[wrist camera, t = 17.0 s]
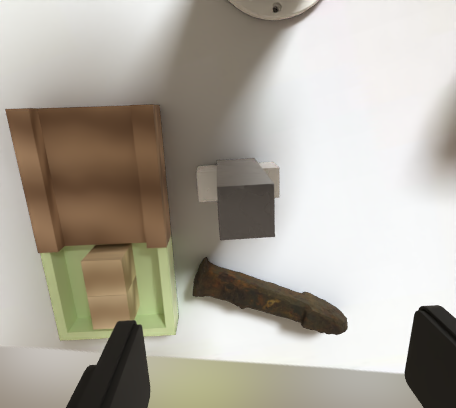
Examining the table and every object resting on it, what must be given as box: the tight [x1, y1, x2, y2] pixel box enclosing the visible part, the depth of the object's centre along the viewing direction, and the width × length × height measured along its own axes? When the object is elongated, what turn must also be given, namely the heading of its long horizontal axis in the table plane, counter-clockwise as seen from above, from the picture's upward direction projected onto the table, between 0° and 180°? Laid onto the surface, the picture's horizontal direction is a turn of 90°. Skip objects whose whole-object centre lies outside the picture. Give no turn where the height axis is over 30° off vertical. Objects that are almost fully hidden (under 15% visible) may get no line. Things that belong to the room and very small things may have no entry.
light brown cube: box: [81, 243, 136, 297], centre depth 33 cm, size 4×4×4 cm
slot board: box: [5, 104, 171, 253], centre depth 31 cm, size 14×13×4 cm
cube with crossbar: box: [196, 158, 279, 240], centre depth 28 cm, size 4×8×12 cm, turn 93°
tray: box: [40, 237, 179, 341], centre depth 35 cm, size 11×13×3 cm
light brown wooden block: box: [87, 276, 140, 330], centre depth 35 cm, size 4×4×4 cm
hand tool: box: [193, 257, 348, 335], centre depth 36 cm, size 19×4×5 cm, turn 68°
